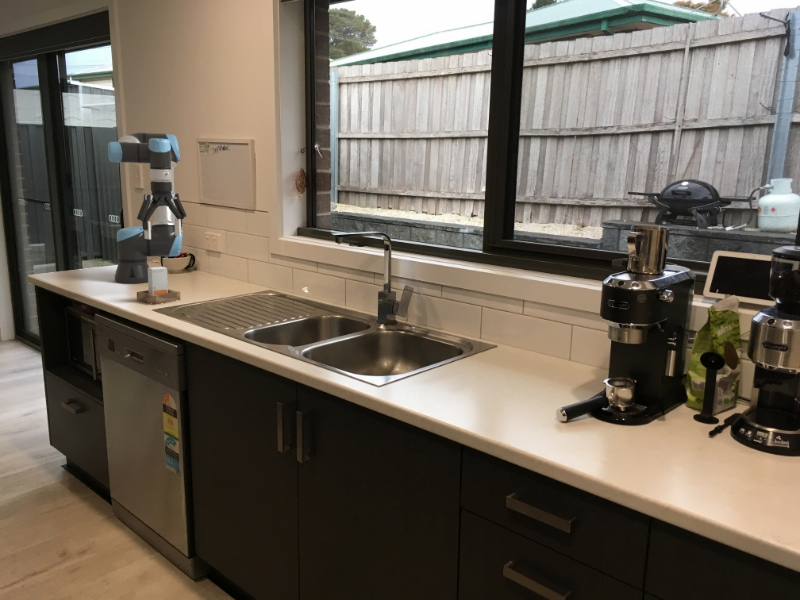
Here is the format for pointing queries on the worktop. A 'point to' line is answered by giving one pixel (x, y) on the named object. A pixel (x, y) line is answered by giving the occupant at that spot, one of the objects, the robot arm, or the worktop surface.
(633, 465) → the worktop surface
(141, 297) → the rectangular wooden frame
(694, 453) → the worktop surface
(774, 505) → the worktop surface
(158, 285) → the skincare box
